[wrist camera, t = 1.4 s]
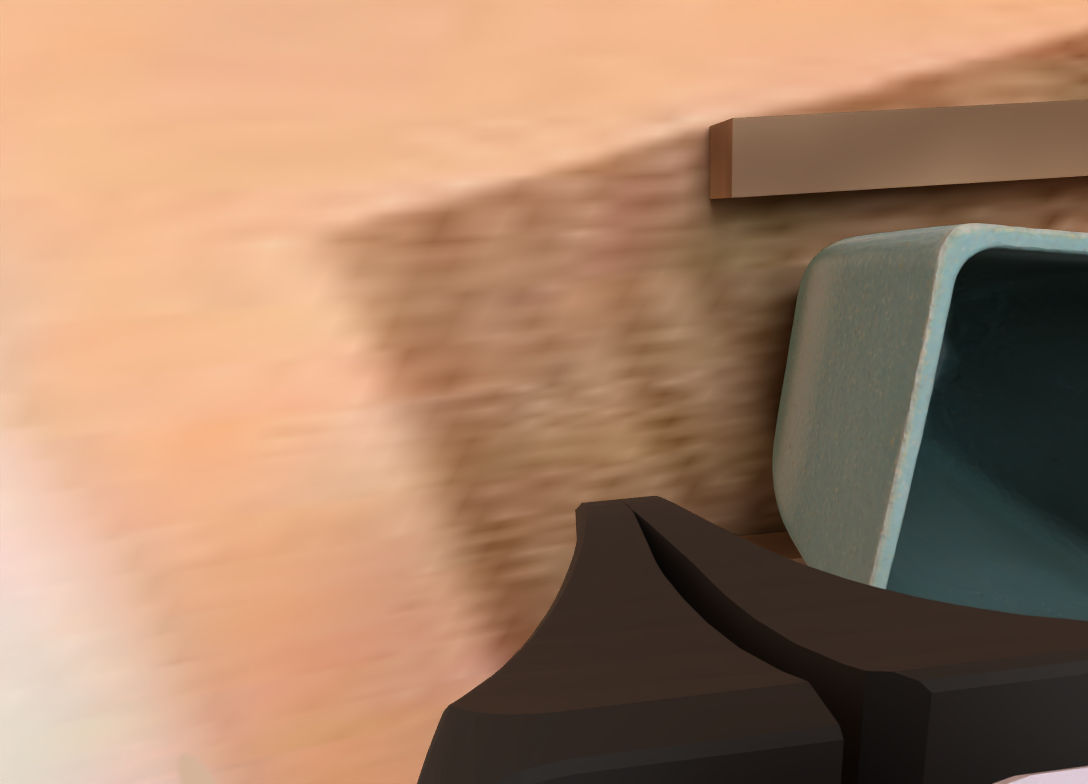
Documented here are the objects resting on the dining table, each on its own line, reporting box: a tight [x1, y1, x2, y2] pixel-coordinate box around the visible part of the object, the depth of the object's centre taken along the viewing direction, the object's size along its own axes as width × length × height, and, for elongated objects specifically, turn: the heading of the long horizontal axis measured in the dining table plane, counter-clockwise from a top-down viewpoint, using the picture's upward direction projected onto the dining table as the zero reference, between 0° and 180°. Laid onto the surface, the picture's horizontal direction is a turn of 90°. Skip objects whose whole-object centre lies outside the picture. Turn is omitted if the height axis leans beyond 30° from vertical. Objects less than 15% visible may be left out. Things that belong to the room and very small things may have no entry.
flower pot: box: [772, 223, 1088, 621], centre depth 18 cm, size 9×9×9 cm
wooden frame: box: [710, 100, 1088, 565], centre depth 22 cm, size 15×24×2 cm, turn 93°
